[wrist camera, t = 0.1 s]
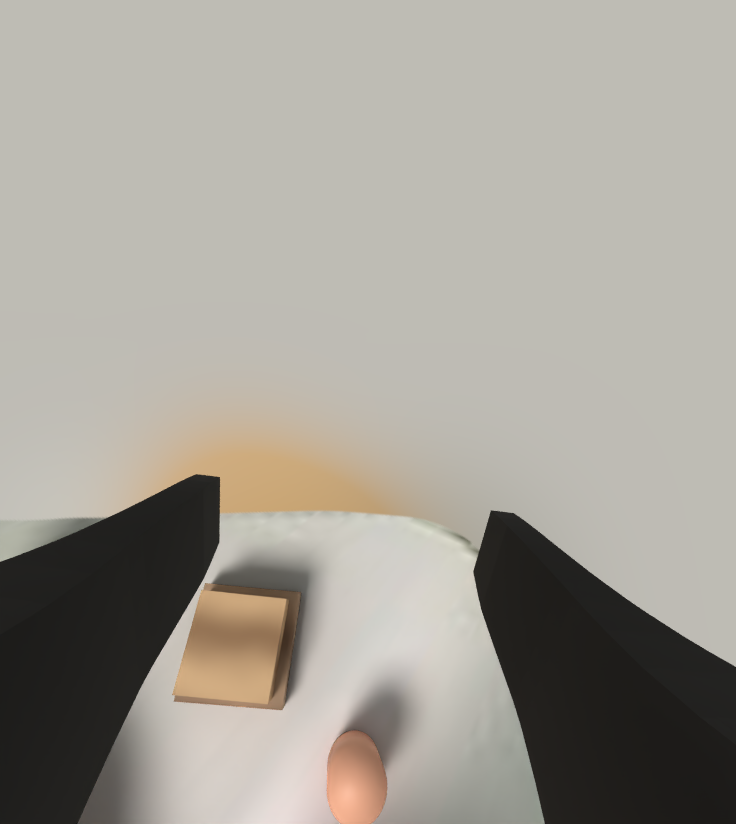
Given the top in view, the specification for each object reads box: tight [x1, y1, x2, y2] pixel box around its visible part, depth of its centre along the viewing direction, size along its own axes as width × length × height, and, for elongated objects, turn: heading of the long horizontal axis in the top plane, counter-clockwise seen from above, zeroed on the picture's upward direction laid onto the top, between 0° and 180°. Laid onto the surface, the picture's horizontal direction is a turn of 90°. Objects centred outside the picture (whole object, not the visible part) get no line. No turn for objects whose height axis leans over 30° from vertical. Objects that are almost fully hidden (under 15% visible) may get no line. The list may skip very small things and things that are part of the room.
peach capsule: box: [327, 730, 387, 824], centre depth 30 cm, size 4×4×5 cm
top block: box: [172, 590, 289, 704], centre depth 33 cm, size 8×8×2 cm
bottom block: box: [174, 583, 301, 710], centre depth 35 cm, size 9×9×2 cm
